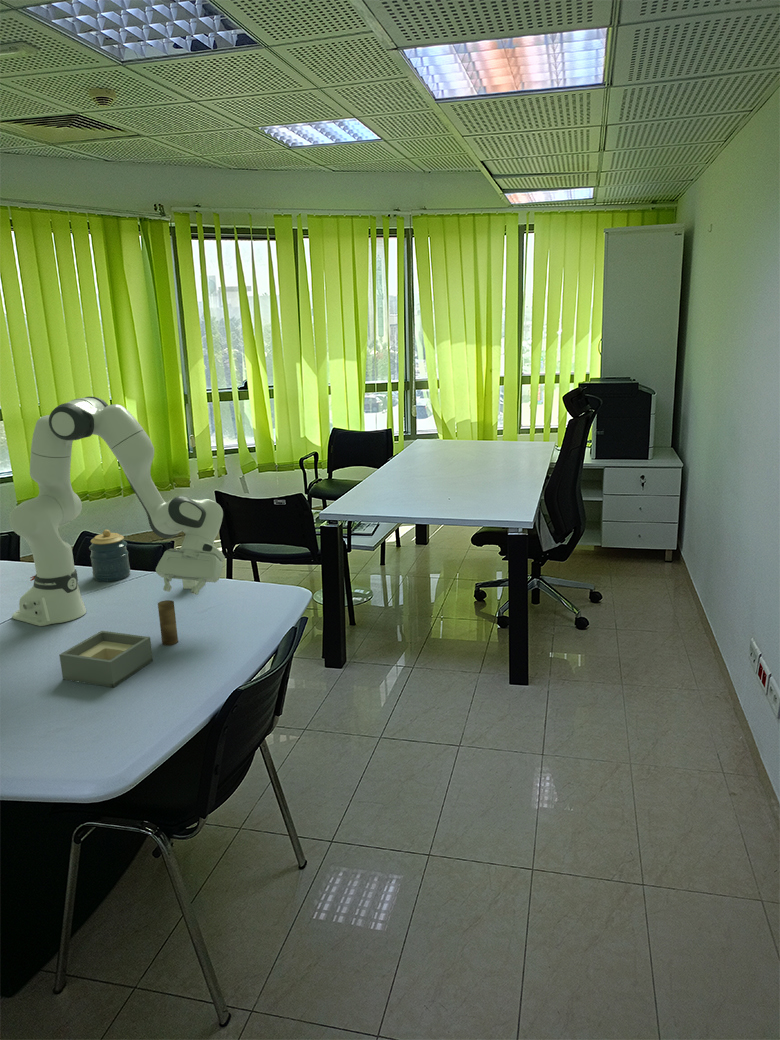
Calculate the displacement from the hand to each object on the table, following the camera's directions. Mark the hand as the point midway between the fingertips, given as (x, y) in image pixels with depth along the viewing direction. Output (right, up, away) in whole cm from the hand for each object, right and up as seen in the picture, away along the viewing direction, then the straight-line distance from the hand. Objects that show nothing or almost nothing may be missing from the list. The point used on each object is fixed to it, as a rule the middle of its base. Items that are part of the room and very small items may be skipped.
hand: (180, 592), depth 220 cm
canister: (-40, 0, +55) cm, 68 cm away
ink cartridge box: (-7, -2, +44) cm, 45 cm away
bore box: (-13, -19, -20) cm, 30 cm away
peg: (-2, -14, -3) cm, 15 cm away
